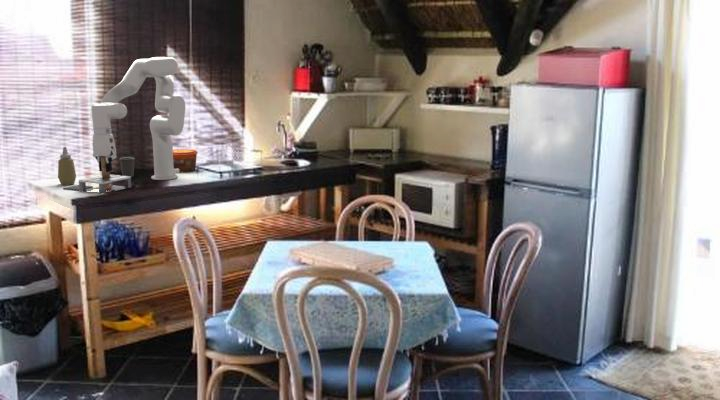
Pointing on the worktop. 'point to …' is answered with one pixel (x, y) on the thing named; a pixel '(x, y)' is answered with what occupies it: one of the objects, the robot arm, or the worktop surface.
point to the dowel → (104, 168)
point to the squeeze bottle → (66, 169)
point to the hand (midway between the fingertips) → (105, 170)
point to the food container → (184, 160)
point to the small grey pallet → (103, 183)
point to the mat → (76, 187)
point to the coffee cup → (127, 166)
